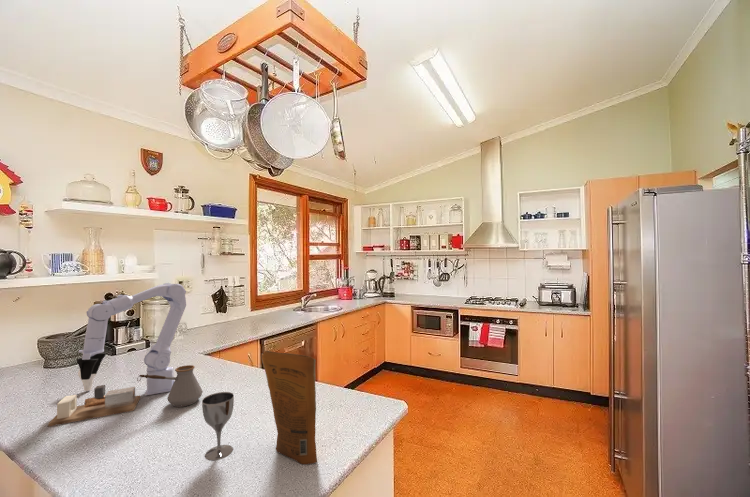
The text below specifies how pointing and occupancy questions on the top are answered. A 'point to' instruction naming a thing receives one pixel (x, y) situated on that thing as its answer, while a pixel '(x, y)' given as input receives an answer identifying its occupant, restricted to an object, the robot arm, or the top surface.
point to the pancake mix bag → (293, 403)
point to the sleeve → (120, 397)
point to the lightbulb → (87, 382)
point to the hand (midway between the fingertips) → (89, 376)
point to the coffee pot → (182, 386)
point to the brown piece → (96, 397)
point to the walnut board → (93, 413)
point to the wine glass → (218, 420)
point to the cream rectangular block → (66, 406)
